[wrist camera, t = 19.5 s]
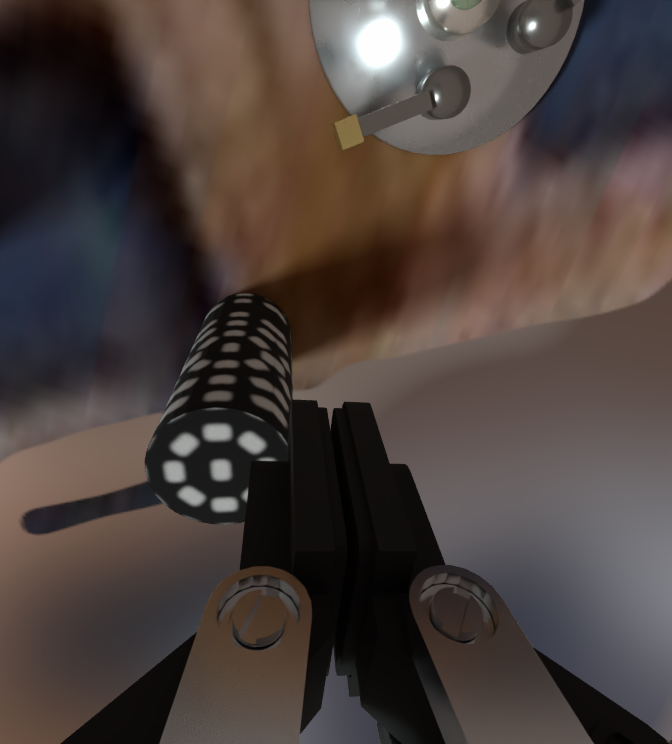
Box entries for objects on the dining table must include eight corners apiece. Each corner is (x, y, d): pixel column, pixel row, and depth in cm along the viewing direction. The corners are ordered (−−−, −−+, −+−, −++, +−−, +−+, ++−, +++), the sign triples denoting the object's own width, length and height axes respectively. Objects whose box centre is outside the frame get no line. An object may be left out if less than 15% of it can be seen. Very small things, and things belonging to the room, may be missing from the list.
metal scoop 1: (451, 63, 34) (468, 56, 31) (460, 111, 35) (477, 108, 32) (326, 114, 34) (331, 111, 31) (340, 158, 36) (346, 160, 33)
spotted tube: (291, 373, 46) (295, 521, 28) (206, 374, 45) (155, 527, 27) (290, 293, 42) (294, 405, 25) (198, 293, 41) (133, 409, 24)
